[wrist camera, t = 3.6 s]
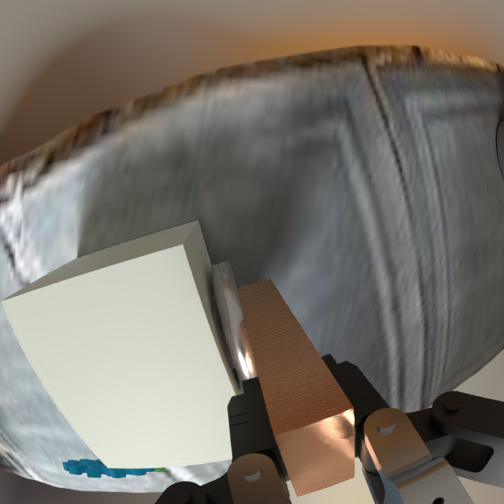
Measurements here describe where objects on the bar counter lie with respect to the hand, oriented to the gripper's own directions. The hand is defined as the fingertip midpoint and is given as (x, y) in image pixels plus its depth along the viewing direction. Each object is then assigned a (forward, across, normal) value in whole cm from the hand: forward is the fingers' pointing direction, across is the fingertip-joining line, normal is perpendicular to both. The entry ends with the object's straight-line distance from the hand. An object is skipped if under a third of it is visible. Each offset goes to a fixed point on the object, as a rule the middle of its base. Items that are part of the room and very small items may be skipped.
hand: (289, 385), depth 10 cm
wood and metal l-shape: (+10, +4, 0) cm, 11 cm away
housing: (+11, +7, 0) cm, 13 cm away
